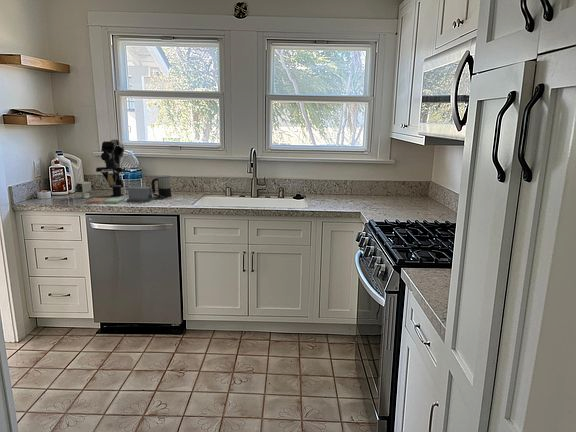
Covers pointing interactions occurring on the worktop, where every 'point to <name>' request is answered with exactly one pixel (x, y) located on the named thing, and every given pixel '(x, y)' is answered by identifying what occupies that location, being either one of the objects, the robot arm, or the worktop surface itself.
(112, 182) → the bronze cartridge
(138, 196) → the graphite housing
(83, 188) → the pneumatic valve
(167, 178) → the coffee carafe
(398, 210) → the worktop surface
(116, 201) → the sage pad
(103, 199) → the terracotta pad
